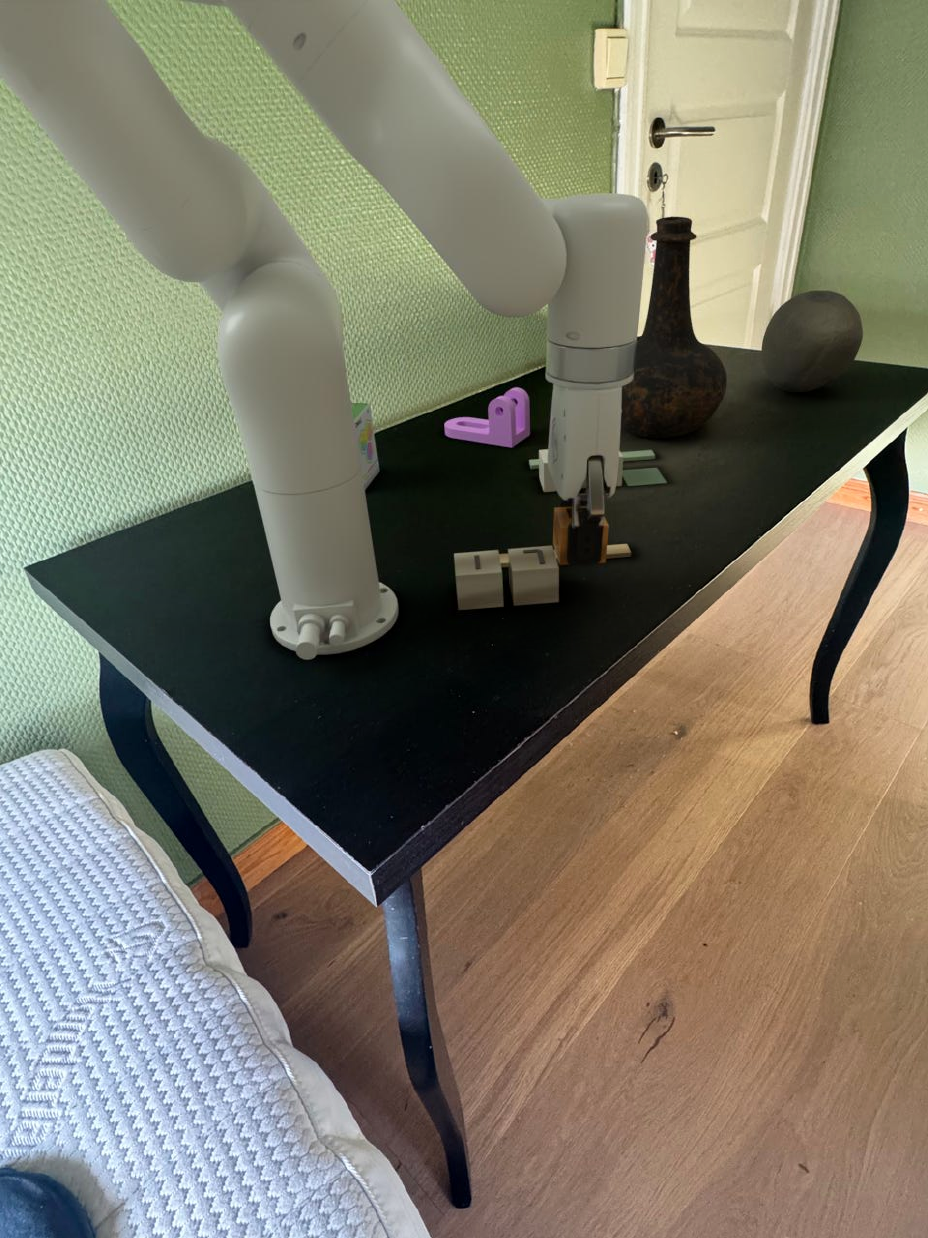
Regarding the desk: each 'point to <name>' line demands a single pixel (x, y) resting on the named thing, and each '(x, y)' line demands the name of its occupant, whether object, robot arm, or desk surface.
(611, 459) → the robot arm
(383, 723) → the desk surface
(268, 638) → the desk surface
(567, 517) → the orange-brown block
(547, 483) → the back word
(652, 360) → the brown bottle
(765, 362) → the dark grey rounded piece
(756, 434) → the desk surface
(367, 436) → the ink box
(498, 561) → the front word
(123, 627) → the desk surface
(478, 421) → the bracket
